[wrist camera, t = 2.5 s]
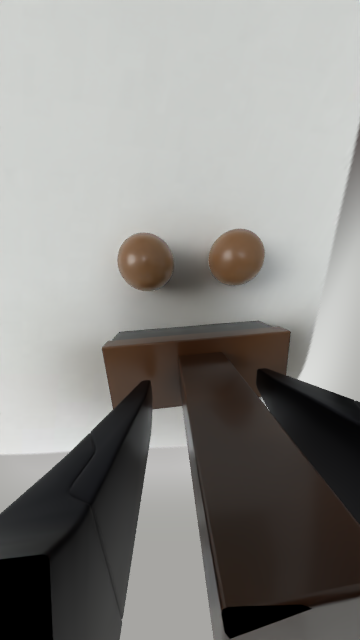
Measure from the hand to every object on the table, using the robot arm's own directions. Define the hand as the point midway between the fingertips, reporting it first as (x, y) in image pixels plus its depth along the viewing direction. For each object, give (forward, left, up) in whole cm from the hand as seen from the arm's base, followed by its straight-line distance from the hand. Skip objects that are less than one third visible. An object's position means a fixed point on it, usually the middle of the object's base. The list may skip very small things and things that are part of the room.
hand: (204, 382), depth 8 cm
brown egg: (+5, -4, -2) cm, 7 cm away
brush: (0, 0, -4) cm, 4 cm away
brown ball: (0, -6, -2) cm, 7 cm away
